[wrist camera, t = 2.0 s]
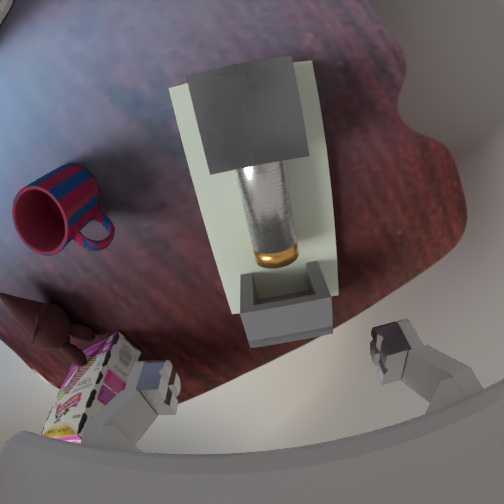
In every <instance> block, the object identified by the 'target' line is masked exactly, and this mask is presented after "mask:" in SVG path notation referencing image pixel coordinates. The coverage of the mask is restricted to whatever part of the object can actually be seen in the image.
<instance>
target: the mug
mask: <svg viewBox="0 0 504 504" xmlns="http://www.w3.org/2000/svg"><path fill="white" fill-rule="evenodd" d="M99 204H100V193H99V189H98V186H97V183H96V181H95V179H94V178H93V176H92V175H91V174H90V173H89V172H88V171H87V170H86V169H84V168H83V167H81V166H79V165H75V164H66V165H63V166H61V167H59V168H57V169H55V170H53V171H52V172H50V173H48V174H46V175H44V176H43V177H41V178H39V179H37V180H36V181H34V182H32V183H31V184H29V185H27V186H26V187H24V188H22V189H21V190H20V191H19V192H18V194H17V195H16V197H15V199H14V202H13V209H12V214H13V221H14V225H15V228H16V230H17V232H18V235H19V236H20V238H21V239H22V241H23V242H24V243H25V244H26V245H27V246H28V247H29V248H30V249H31V250H33V251H34V252H36V253H38V254H41V255H46V256H51V255H55V254H57V253H59V252H60V251H61V250H62V249H63V248H64V247H65V246H66V245H67V244H68V243H69V242H70V241H71V240H72V239H73V240H74V241H76V242H77V243H78V244H79V245H81V246H83V247H84V248H87V249H89V250H93V251H99V250H103V249H105V248H106V247H108V246H109V244H110V243H111V241H112V240H113V237H114V233H115V228H114V225H113V223H112V222H111V221H110V219H109V218H108V217H107V216H106V215H104V214H103V213H102V212H101V211H100V210H98V208H99ZM92 218H93V219H95V220H97V221H98V222H100V223H101V224H102V225H103V226H104V227H105V228H106V230H107V231H108V234H109V236H108V237H107V238H105V239H103V240H100V241H94V240H91V239H88V238H87V237H85V236H83V234H82V233H81V232H80V230H81V229H82V228H83V227H84V226H85V225H86V224H87V223H88V222H89V221H90V220H91V219H92Z"/></svg>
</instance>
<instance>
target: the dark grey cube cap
mask: <svg viewBox="0 0 504 504" xmlns="http://www.w3.org/2000/svg"><path fill="white" fill-rule="evenodd" d="M186 78H187V83H188V87H189V91H190V95H191V100H192V104H193V108H194V112H195V116H196V120H197V125H198V129H199V133H200V137H201V141H202V145H203V149H204V153H205V157H206V161H207V165H208V169H209V173H210V175H213V174H217V173H222V172H227V171H231V170H236V169H241V168H246V167H251V166H256V165H261V164H267V163H272V162H278V161H284V160H290V159H296V158H302V157H308V156H309V149H308V143H307V136H306V130H305V124H304V118H303V112H302V107H301V101H300V96H299V90H298V85H297V80H296V75H295V70H294V65H293V60H292V56H284V57H277V58H270V59H263V60H257V61H251V62H246V63H240V64H235V65H230V66H226V67H221V68H217V69H212V70H208V71H204V72H200V73H196V74H192V75H188V76H186Z"/></svg>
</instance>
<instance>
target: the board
mask: <svg viewBox="0 0 504 504" xmlns="http://www.w3.org/2000/svg"><path fill="white" fill-rule="evenodd" d="M293 65H294V70H295V75H296V80H297V85H298V90H299V96H300V101H301V107H302V112H303V118H304V124H305V130H306V136H307V143H308V149H309V156H308V157H302V158H296V159H290V160H285V166H286V172H287V178H288V184H289V190H290V196H291V203H292V209H293V216H294V222H295V229H296V236H297V243H298V250H299V256H298V258H297V260H296V261H294V262H293V263H292V264H290V265H288V266H285V267H282V268H276V269H268V268H263V267H260V266H259V265H257V263H256V262H255V257H254V253H253V248H252V244H251V240H250V235H249V231H248V226H247V222H246V217H245V213H244V209H243V204H242V200H241V195H240V191H239V186H238V182H237V178H236V173H235V170H231V171H227V172H222V173H217V174H213V175H210V173H209V169H208V165H207V161H206V157H205V153H204V149H203V145H202V141H201V137H200V133H199V129H198V125H197V120H196V116H195V112H194V108H193V104H192V100H191V95H190V91H189V87H188V83H186V84H182V85H179V86H175V87H172V88H169V91H170V95H171V99H172V103H173V108H174V112H175V116H176V120H177V124H178V127H179V131H180V135H181V139H182V143H183V147H184V151H185V154H186V158H187V162H188V166H189V169H190V173H191V177H192V180H193V184H194V188H195V191H196V195H197V199H198V202H199V206H200V209H201V213H202V216H203V220H204V223H205V227H206V230H207V234H208V237H209V240H210V244H211V247H212V251H213V254H214V257H215V261H216V264H217V267H218V270H219V274H220V277H221V280H222V284H223V287H224V290H225V293H226V296H227V300H228V303H229V306H230V309H231V312H232V314H237V313H240V275H241V274H247V273H252V274H253V279H254V283H255V287H256V291H257V295H258V299H263V298H268V297H274V296H280V295H285V294H291V293H296V292H301V291H307V290H309V285H308V277H307V268H306V263H307V262H312V261H318V263H319V266H320V268H321V271H322V274H323V276H324V279H325V281H326V284H327V287H328V289H329V292H330V295H331V296H336V295H339V292H338V269H337V252H336V237H335V224H334V212H333V201H332V191H331V182H330V173H329V165H328V157H327V149H326V142H325V134H324V128H323V121H322V115H321V108H320V102H319V96H318V91H317V85H316V80H315V74H314V69H313V64H312V61H302V62H293Z"/></svg>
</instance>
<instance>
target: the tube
mask: <svg viewBox="0 0 504 504" xmlns="http://www.w3.org/2000/svg"><path fill="white" fill-rule="evenodd" d="M235 173H236V178H237V182H238V186H239V191H240V195H241V200H242V204H243V209H244V213H245V217H246V222H247V226H248V231H249V235H250V240H251V244H252V248H253V253H254V257H255V262H256V263H257V265H259V266H260V267H263V268H268V269H276V268H282V267H285V266H288V265H290V264H292V263H293V262H294V261H296V260H297V258H298V256H299V250H298V243H297V236H296V229H295V222H294V216H293V209H292V203H291V196H290V190H289V184H288V178H287V172H286V166H285V160H284V161H278V162H272V163H267V164H261V165H256V166H251V167H246V168H241V169H236V170H235Z"/></svg>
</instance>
